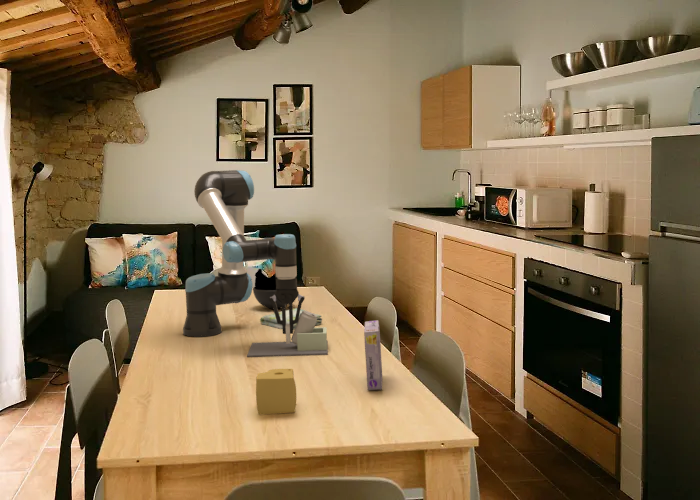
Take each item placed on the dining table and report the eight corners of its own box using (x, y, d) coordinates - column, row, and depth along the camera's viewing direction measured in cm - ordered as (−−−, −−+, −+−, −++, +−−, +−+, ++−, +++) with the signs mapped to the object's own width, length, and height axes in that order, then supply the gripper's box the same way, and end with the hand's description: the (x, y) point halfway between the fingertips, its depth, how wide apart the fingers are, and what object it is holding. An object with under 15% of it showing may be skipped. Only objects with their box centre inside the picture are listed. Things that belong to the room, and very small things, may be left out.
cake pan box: (366, 374, 251) (364, 319, 249) (382, 374, 251) (381, 318, 249) (365, 391, 232) (364, 332, 230) (382, 391, 232) (381, 331, 230)
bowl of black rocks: (305, 306, 373) (304, 266, 371) (279, 314, 356) (277, 272, 354) (271, 303, 384) (270, 264, 382) (244, 310, 367) (243, 270, 365)
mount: (252, 344, 297) (251, 326, 297) (327, 342, 298) (327, 324, 297) (247, 357, 277) (246, 338, 277) (327, 354, 278) (327, 336, 277)
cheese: (257, 404, 223) (256, 369, 222) (296, 402, 224) (295, 367, 223) (256, 415, 213) (255, 379, 211) (297, 413, 213) (295, 377, 212)
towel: (289, 332, 319) (288, 319, 319) (259, 324, 336) (259, 312, 335) (324, 325, 331) (324, 313, 330) (294, 318, 347) (294, 307, 347)
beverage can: (304, 348, 284) (316, 317, 283) (288, 342, 285) (299, 311, 284) (308, 346, 290) (319, 315, 289) (292, 339, 291) (303, 309, 290)
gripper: (304, 275, 289) (306, 339, 291) (268, 276, 288) (271, 340, 291) (304, 278, 281) (306, 344, 284) (267, 279, 281) (269, 345, 283)
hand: (288, 342), depth 287 cm, fingers closed
